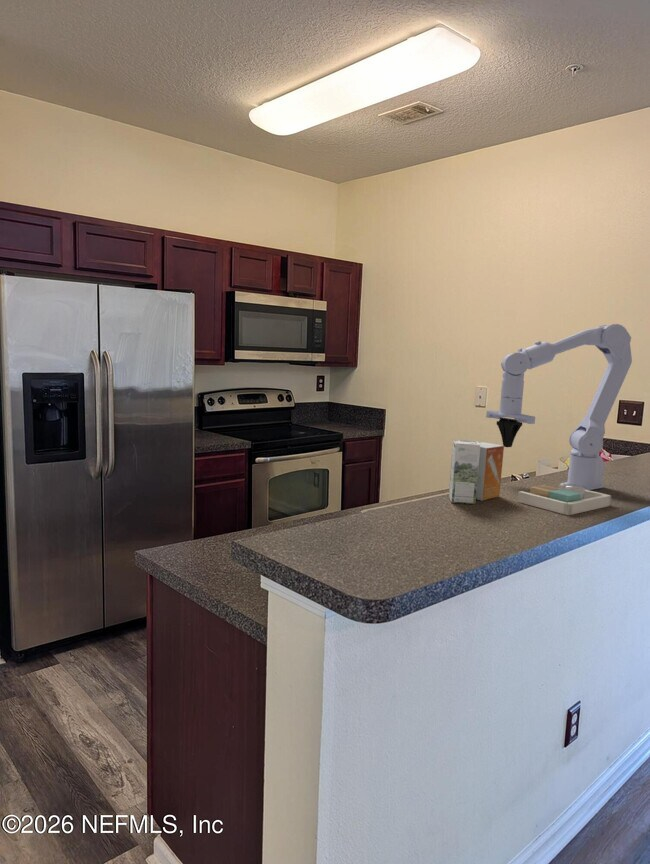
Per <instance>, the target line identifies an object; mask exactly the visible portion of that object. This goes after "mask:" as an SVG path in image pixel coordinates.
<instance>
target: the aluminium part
mask: <svg viewBox="0 0 650 864" xmlns="http://www.w3.org/2000/svg"><path fill="white" fill-rule="evenodd" d="M563 489H564V490H568V491H572V492H577V493H581V500H583V499H584V495H585V487H584V486H582V485H577V484H563Z"/></svg>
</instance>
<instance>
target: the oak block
mask: <svg viewBox="0 0 650 864" xmlns="http://www.w3.org/2000/svg"><path fill="white" fill-rule="evenodd" d="M554 490H560V489H558V488H557V487H554V486H549V485H544V484H540V485H539V484H538V485H535V486H534V485H533V486H530V488H529V493H531V494H535V495H539V496H543V497H547V498H549V492H550V491H554Z"/></svg>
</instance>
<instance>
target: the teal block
mask: <svg viewBox="0 0 650 864" xmlns="http://www.w3.org/2000/svg"><path fill="white" fill-rule="evenodd" d="M549 498H551V499H555V500H559V501H563V502H567V503H568V502H573V501H578V500H581V493H577V492H572V491H568V490H564V489H560V490H554V491H550V492H549Z"/></svg>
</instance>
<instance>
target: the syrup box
mask: <svg viewBox="0 0 650 864" xmlns="http://www.w3.org/2000/svg"><path fill="white" fill-rule="evenodd" d="M479 443H480V442H479V441H478V440H468V439H467V440H466V439H453V441H452V449H451V451H452V452H451V464H450V477H449V488H448V498H449V500H450V502H451V503H452V504H453V503H454V504H464V503H465V505H467V504H468V505H476V491H477V479H478V467H479V457H480V444H479Z"/></svg>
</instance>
